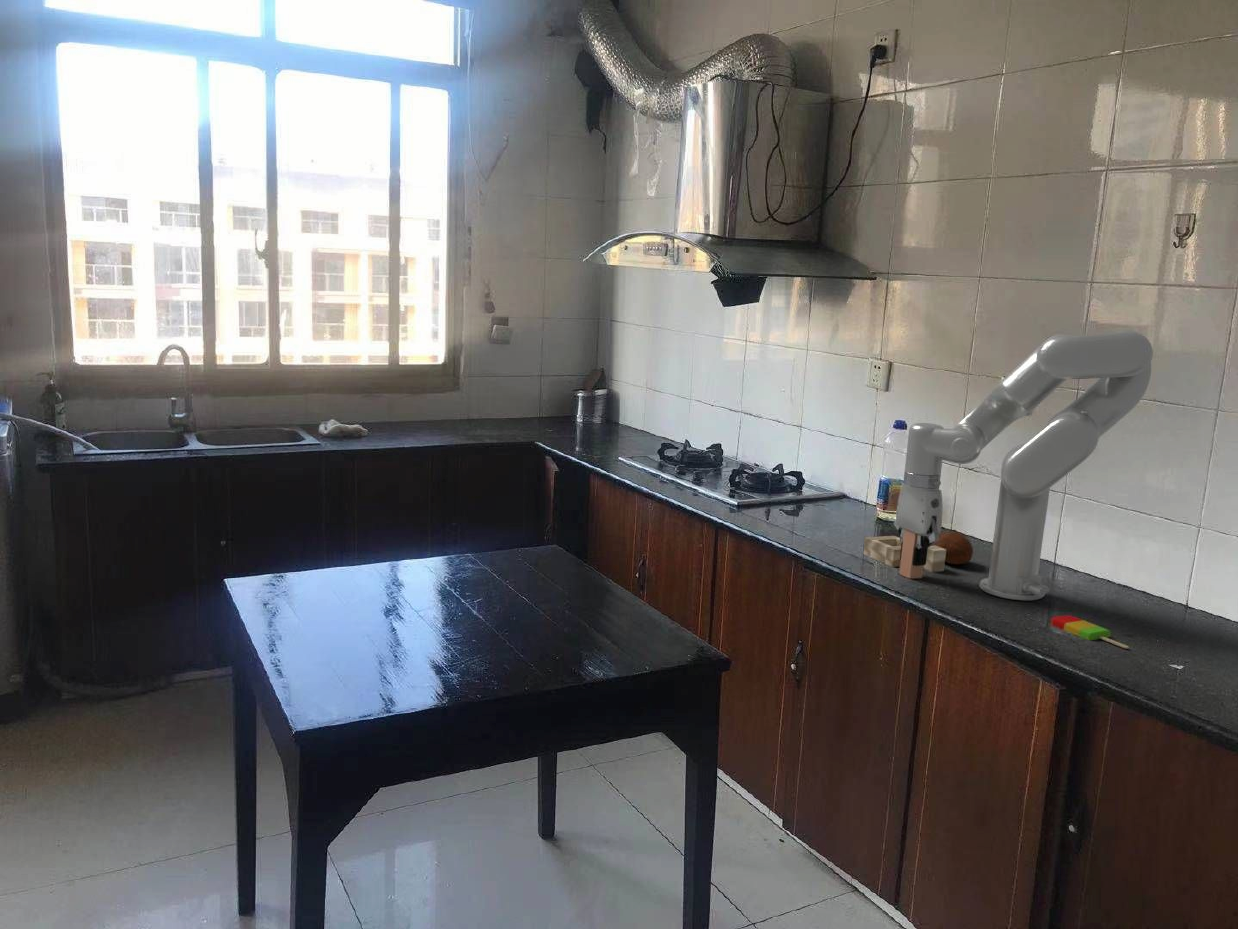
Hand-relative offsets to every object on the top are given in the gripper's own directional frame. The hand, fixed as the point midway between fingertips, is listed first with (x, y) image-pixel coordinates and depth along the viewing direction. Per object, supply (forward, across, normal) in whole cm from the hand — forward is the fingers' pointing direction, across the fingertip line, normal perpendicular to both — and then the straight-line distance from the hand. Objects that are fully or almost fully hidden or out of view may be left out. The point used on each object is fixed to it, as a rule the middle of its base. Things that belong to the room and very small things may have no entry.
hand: (912, 561), depth 213 cm
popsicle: (+4, -40, -9) cm, 41 cm away
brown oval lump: (+4, +6, -17) cm, 18 cm away
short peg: (+3, +3, -8) cm, 10 cm away
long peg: (+3, 0, 0) cm, 3 cm away
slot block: (+3, +12, -4) cm, 13 cm away
